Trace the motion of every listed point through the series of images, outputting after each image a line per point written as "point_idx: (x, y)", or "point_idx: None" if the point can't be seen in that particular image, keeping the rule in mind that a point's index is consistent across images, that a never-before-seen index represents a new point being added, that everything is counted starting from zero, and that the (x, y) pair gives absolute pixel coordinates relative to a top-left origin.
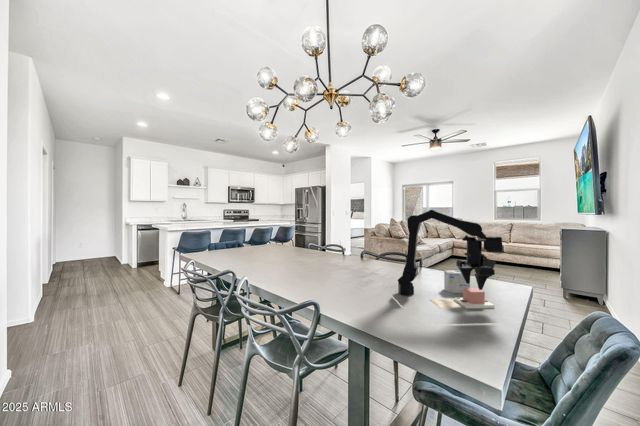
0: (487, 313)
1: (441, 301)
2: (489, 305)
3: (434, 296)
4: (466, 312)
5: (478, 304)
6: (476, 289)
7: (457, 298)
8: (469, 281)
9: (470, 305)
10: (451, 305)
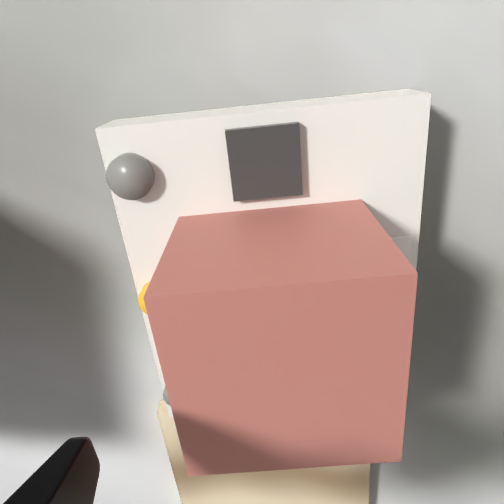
0: (492, 228)
1: (225, 487)
2: (423, 167)
3: None
4: (438, 385)
5: None
6: (258, 337)
7: None
8: (68, 476)
9: None
10: None
